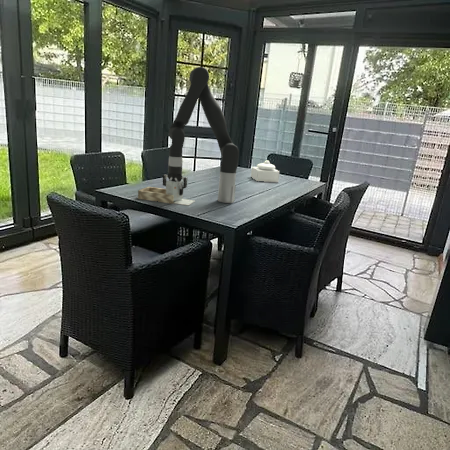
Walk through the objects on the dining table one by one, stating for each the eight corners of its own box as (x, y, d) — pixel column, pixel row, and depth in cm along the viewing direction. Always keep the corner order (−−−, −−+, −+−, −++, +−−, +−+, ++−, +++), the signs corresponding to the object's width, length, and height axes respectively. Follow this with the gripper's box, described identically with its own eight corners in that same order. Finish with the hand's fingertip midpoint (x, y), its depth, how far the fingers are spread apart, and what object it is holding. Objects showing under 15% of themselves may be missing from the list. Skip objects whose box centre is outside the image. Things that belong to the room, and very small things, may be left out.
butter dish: (256, 181, 283) (259, 161, 278) (250, 177, 299) (252, 157, 295) (278, 182, 287) (280, 162, 282) (270, 178, 304) (273, 159, 299)
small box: (175, 197, 210) (176, 179, 206) (182, 199, 206) (183, 181, 203) (165, 199, 203) (165, 180, 200) (172, 201, 200) (173, 182, 197)
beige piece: (181, 198, 210) (181, 191, 209) (172, 203, 198) (172, 195, 197) (148, 194, 215) (148, 186, 214) (138, 198, 203) (138, 190, 202)
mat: (195, 201, 208) (195, 200, 207) (188, 205, 197) (188, 205, 197) (180, 199, 210) (180, 198, 209) (173, 203, 199) (173, 202, 199)
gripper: (190, 165, 201) (188, 194, 206) (166, 162, 204) (165, 191, 209) (185, 167, 194) (183, 197, 199) (160, 164, 197) (159, 194, 202)
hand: (174, 194), depth 204 cm, fingers closed on small box, 7 cm apart
